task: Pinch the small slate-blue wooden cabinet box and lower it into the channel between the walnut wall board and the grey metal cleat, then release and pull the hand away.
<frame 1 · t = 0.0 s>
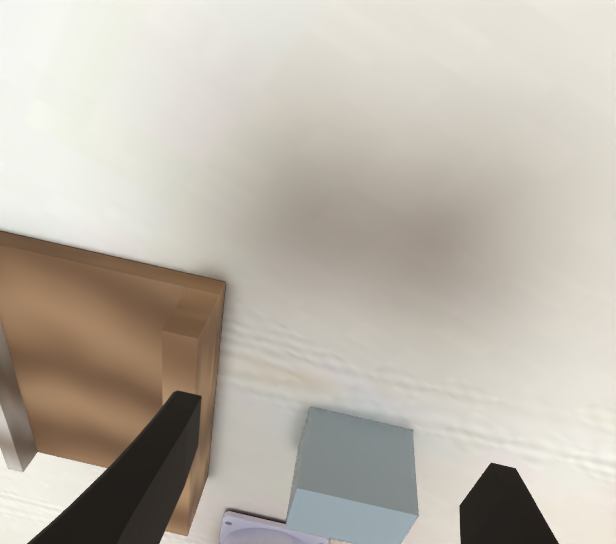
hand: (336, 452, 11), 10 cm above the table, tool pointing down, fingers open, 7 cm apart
cabinet box: (353, 437, 27), on the table
cleat rack: (107, 372, 26), on the table
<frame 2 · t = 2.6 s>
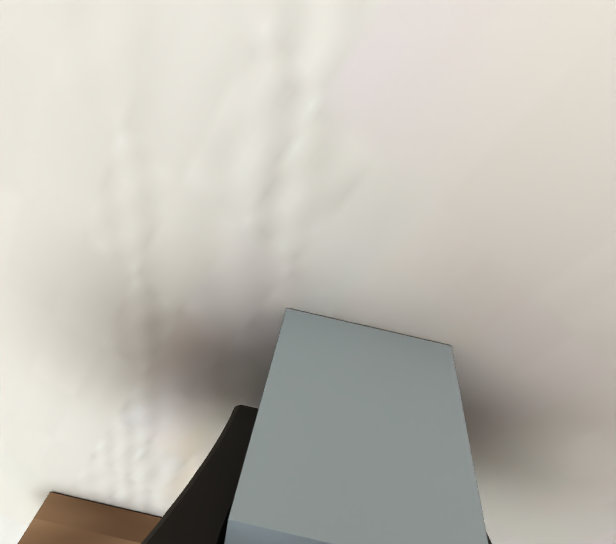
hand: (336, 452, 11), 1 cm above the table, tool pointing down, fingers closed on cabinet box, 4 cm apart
cabinet box: (340, 406, 12), on the table, touching gripper
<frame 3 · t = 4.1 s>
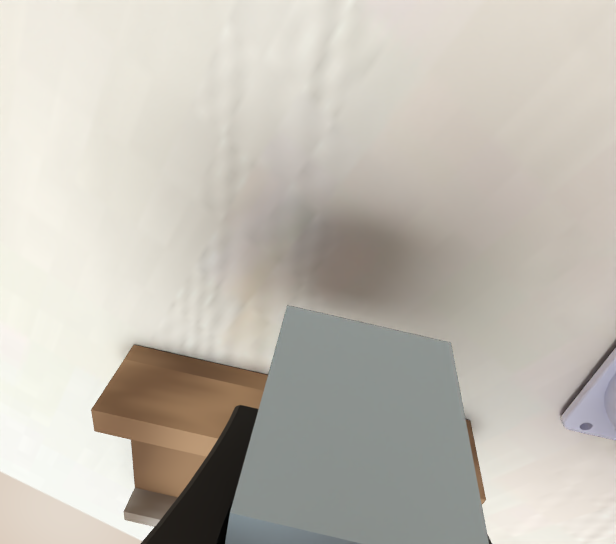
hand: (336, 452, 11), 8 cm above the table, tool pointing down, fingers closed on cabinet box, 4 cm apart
cabinet box: (341, 404, 12), point 7 cm above the table, touching gripper
cleat rack: (282, 457, 26), on the table
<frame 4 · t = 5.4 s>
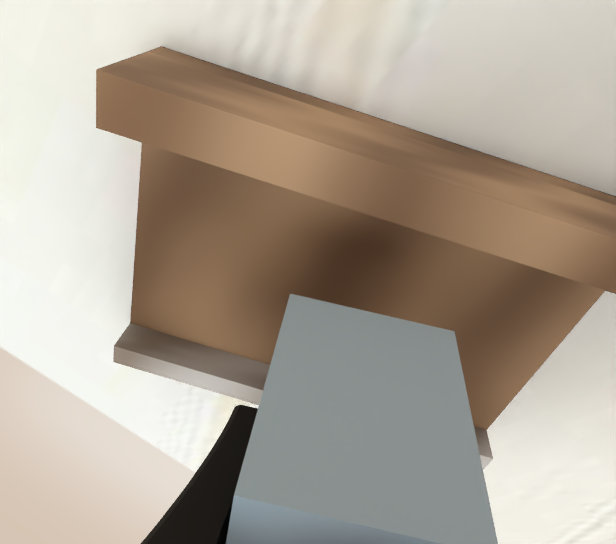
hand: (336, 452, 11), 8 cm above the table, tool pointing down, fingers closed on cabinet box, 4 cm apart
cabinet box: (343, 394, 12), point 7 cm above the table, touching gripper
cleat rack: (348, 280, 19), on the table
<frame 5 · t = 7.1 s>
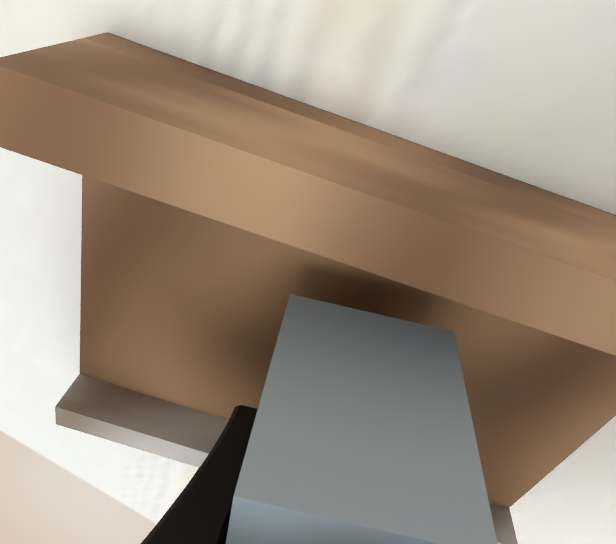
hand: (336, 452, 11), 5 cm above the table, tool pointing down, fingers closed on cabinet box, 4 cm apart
cabinet box: (343, 394, 12), point 3 cm above the table, touching gripper
cleat rack: (348, 332, 15), on the table
when the fingers open (4 cm above the table, at t = 8.4 s): cabinet box drops 1 cm, resting on cleat rack.
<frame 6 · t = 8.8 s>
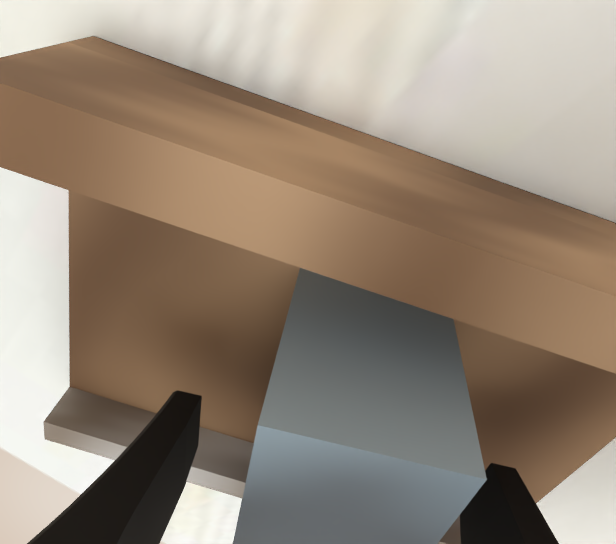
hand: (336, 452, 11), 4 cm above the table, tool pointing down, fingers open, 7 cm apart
cabinet box: (347, 362, 13), point 1 cm above the table, touching cleat rack
cleat rack: (346, 345, 14), on the table
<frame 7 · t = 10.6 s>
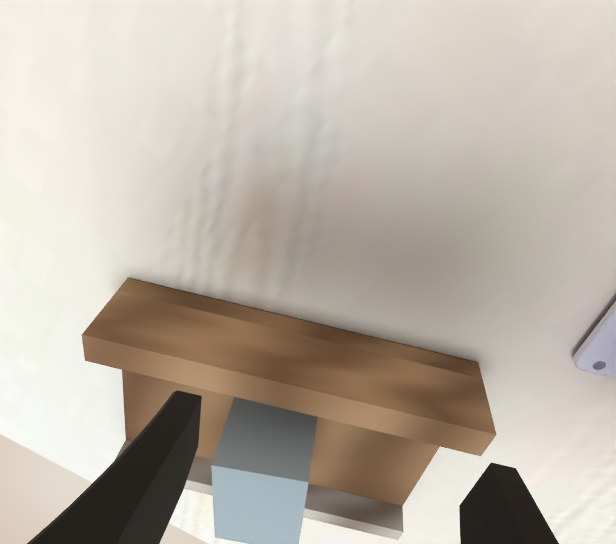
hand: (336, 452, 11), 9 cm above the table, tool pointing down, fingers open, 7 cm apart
cabinet box: (278, 419, 24), point 1 cm above the table, touching cleat rack
cleat rack: (281, 407, 25), on the table
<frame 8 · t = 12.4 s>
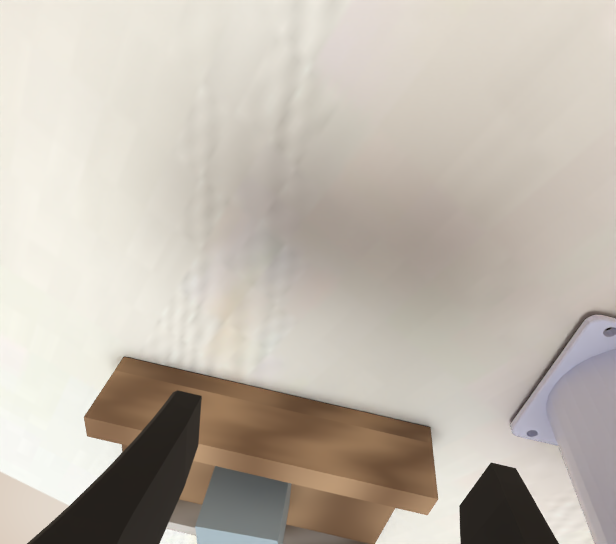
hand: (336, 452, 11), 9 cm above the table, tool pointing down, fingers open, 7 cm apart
cabinet box: (259, 472, 27), point 1 cm above the table, touching cleat rack
cleat rack: (262, 460, 28), on the table
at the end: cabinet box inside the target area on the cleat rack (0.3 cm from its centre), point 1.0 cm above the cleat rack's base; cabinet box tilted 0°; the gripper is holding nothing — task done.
